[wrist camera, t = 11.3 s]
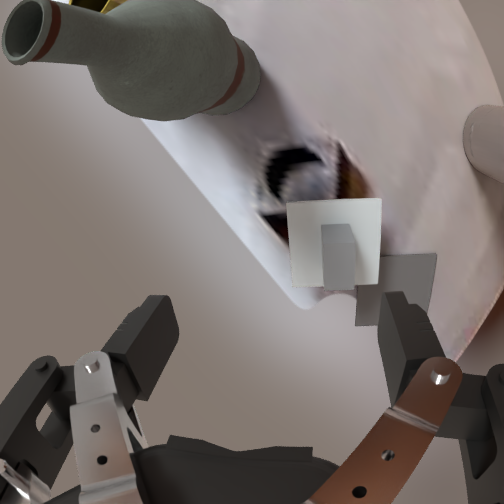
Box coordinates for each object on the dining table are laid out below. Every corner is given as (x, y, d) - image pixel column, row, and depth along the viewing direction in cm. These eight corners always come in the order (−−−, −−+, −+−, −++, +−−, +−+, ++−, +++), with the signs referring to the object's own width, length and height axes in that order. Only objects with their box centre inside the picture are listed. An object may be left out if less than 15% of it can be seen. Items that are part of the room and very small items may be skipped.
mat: (436, 253, 38) (436, 254, 38) (424, 319, 43) (425, 321, 42) (359, 256, 40) (359, 258, 40) (355, 324, 45) (355, 326, 44)
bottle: (279, 90, 33) (190, 25, 6) (212, 129, 36) (6, 203, 9) (238, 26, 30) (80, -113, 4) (174, 67, 33) (-53, 46, 7)
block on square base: (380, 198, 32) (393, 215, 27) (376, 281, 36) (386, 308, 31) (286, 201, 34) (282, 219, 29) (292, 284, 38) (289, 312, 33)
